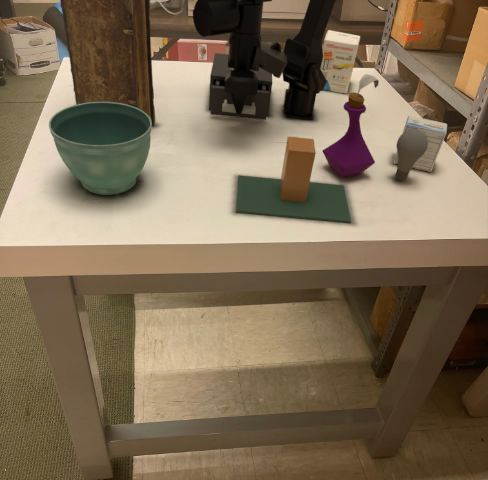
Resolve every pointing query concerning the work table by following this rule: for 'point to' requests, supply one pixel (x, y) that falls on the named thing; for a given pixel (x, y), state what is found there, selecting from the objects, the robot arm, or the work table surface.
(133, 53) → the book
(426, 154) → the medicine box
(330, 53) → the ink box
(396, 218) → the work table surface
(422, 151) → the light bulb
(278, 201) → the front mat
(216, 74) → the dark grey box
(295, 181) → the box
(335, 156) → the perfume bottle
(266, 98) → the drawer
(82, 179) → the flower pot
